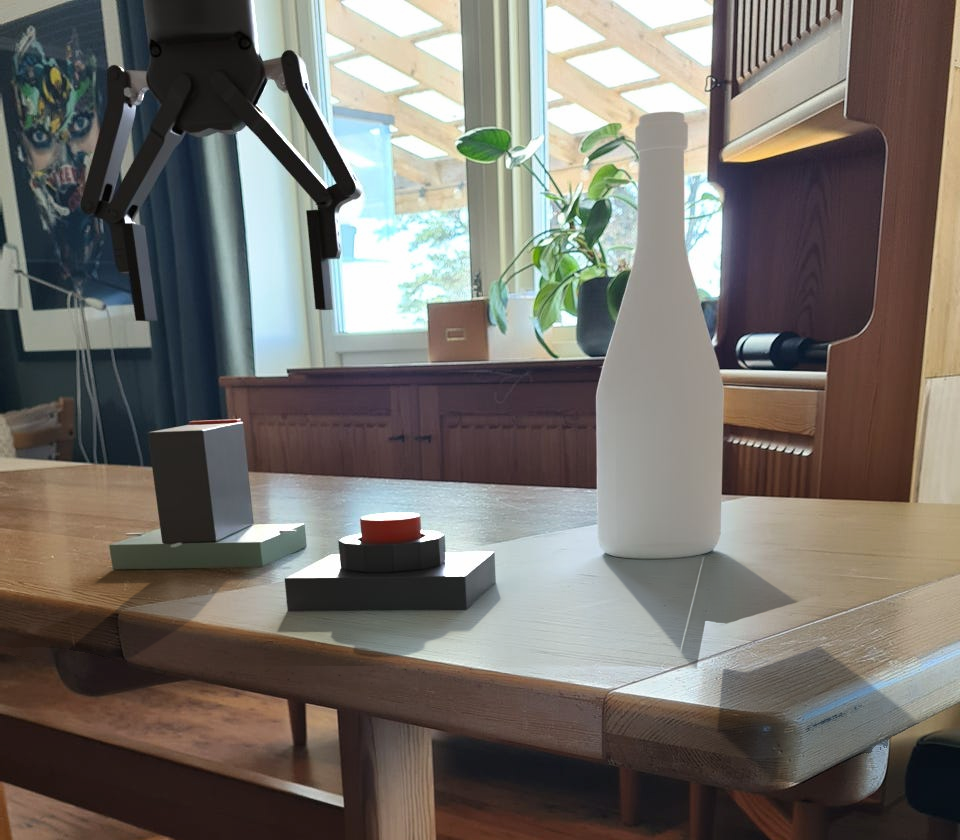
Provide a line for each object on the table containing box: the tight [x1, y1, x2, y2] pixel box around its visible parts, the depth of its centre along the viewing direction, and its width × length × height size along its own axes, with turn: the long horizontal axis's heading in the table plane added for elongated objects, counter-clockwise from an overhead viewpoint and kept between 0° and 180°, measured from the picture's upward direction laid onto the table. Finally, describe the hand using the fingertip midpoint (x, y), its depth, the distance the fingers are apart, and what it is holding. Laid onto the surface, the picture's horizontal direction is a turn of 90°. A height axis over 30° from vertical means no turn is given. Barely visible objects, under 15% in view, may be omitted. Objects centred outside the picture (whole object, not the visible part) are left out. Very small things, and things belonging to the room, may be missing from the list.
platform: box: [108, 523, 308, 571], centre depth 108 cm, size 15×15×2 cm
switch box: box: [284, 529, 497, 612], centre depth 86 cm, size 12×10×4 cm
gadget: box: [147, 418, 255, 543], centre depth 106 cm, size 11×4×9 cm, turn 174°
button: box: [359, 512, 422, 542], centre depth 85 cm, size 4×4×2 cm
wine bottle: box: [595, 111, 725, 560], centre depth 95 cm, size 10×10×30 cm
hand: (234, 315), depth 96 cm, fingers open, 13 cm apart
